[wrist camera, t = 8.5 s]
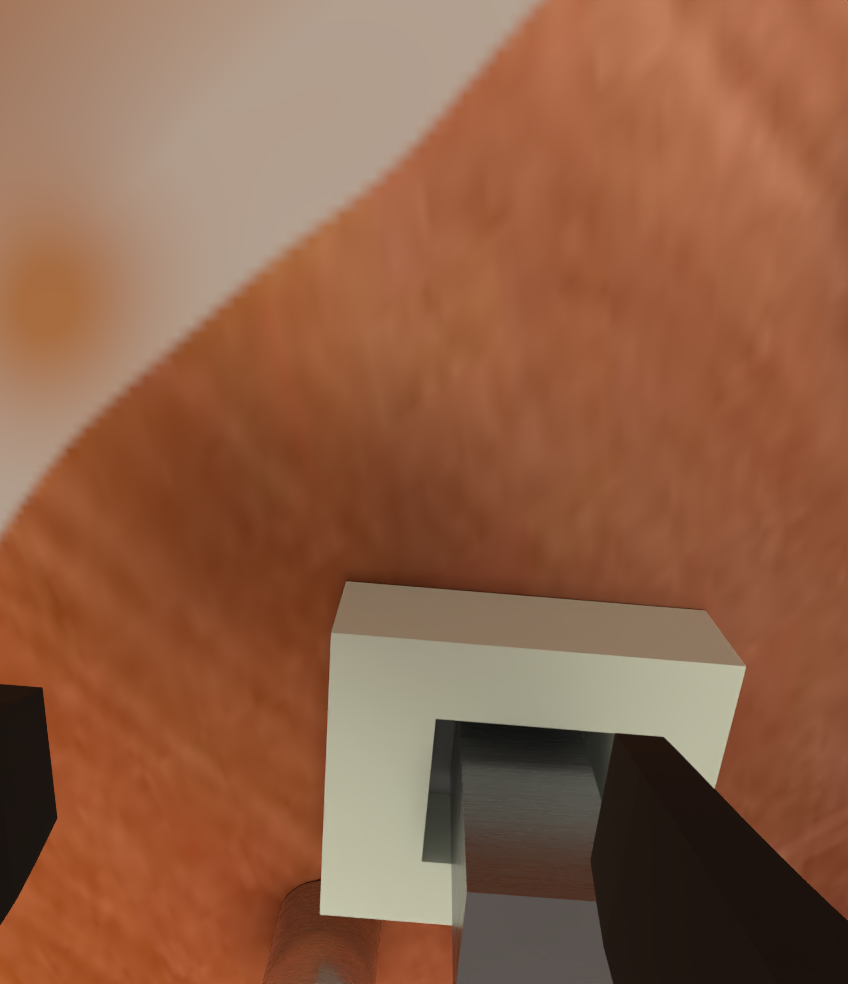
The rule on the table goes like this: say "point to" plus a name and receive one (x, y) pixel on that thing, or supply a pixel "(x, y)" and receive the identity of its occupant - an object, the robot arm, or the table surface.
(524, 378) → the table surface
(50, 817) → the robot arm
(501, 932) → the square bit
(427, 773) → the bore block
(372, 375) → the table surface
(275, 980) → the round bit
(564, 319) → the table surface
